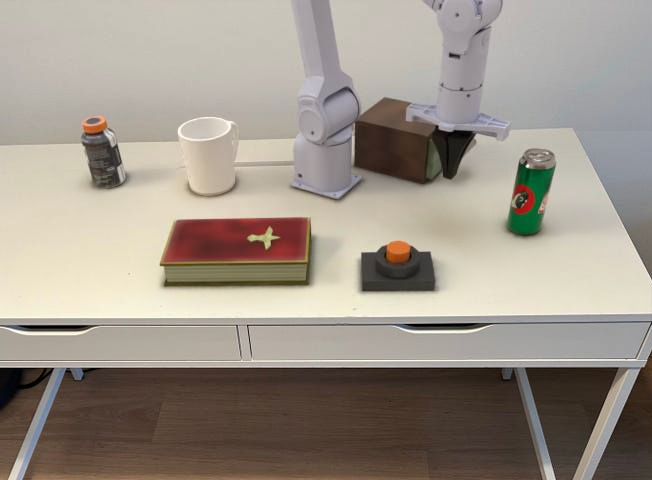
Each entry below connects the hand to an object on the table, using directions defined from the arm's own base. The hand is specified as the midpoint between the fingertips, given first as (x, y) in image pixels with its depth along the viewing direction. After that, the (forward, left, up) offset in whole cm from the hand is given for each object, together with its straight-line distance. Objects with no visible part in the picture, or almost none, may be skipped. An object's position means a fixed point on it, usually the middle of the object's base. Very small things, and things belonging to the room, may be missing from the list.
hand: (449, 175), depth 97 cm
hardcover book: (-22, -24, -9) cm, 33 cm away
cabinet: (-15, +15, -8) cm, 23 cm away
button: (0, -15, -5) cm, 16 cm away
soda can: (+11, +5, -9) cm, 15 cm away
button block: (0, -15, -9) cm, 17 cm away
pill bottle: (-58, -16, -9) cm, 61 cm away
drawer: (-11, +15, -8) cm, 21 cm away
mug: (-40, -7, -9) cm, 42 cm away
